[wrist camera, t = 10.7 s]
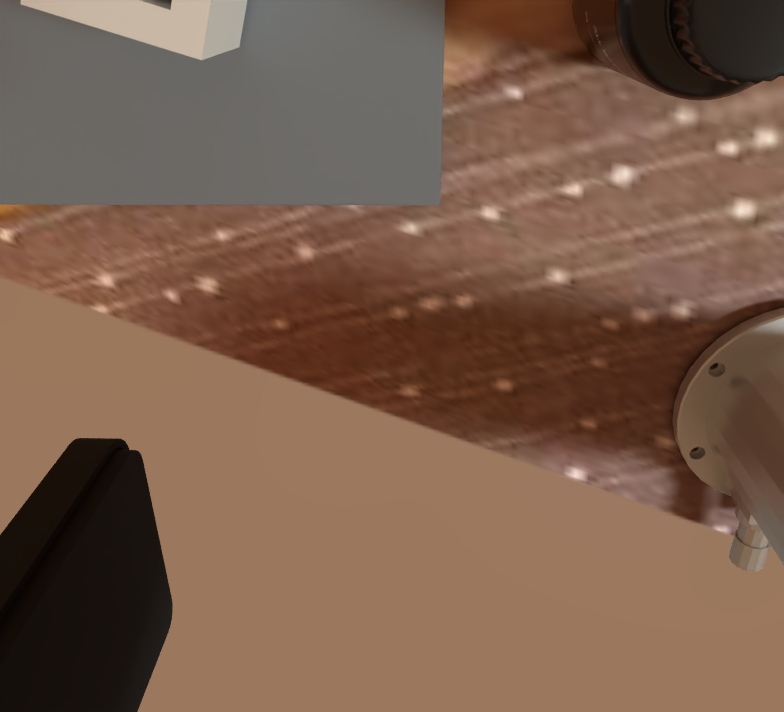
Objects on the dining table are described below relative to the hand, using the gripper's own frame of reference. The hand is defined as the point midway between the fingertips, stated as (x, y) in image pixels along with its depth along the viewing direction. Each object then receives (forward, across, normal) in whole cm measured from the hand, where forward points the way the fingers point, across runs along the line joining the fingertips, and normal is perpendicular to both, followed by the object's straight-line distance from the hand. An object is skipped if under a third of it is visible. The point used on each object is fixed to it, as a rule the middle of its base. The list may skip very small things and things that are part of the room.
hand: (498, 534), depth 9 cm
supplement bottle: (+28, -9, -6) cm, 30 cm away
